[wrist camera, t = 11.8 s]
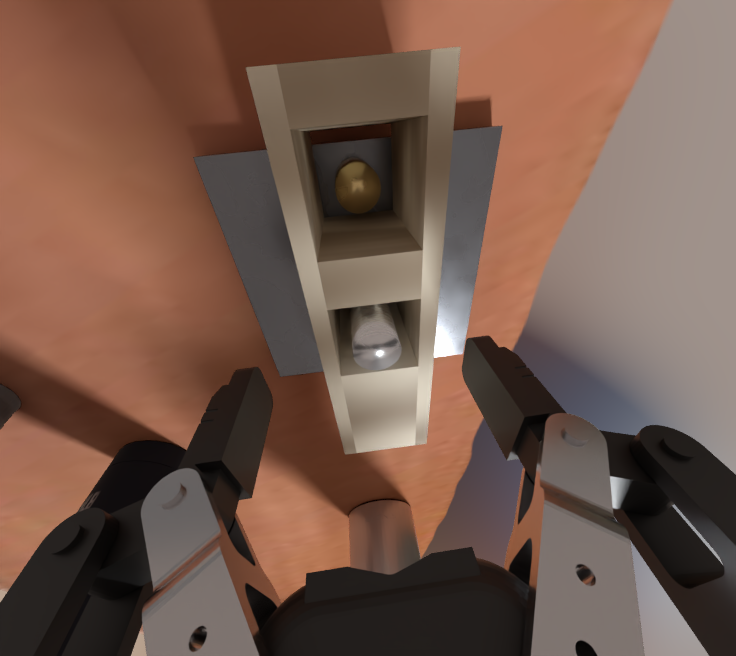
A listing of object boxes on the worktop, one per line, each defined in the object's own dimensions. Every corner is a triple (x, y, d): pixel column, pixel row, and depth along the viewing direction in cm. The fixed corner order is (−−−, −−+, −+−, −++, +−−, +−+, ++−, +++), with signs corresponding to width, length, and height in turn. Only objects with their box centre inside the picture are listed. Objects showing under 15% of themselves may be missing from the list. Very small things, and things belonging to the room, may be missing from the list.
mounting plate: (458, 345, 21) (506, 429, 15) (282, 367, 21) (260, 462, 15) (492, 126, 13) (627, 119, 7) (202, 155, 13) (78, 175, 7)
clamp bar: (405, 372, 21) (426, 443, 16) (343, 380, 21) (345, 454, 16) (406, 85, 11) (460, 46, 6) (286, 97, 11) (245, 67, 6)
